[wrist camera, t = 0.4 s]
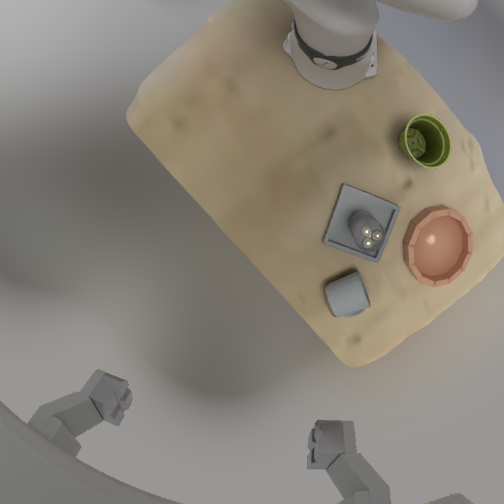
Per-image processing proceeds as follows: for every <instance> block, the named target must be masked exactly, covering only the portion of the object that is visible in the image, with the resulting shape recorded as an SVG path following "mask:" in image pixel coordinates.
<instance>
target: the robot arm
mask: <svg viewBox="0 0 504 504" xmlns="http://www.w3.org/2000/svg"><path fill="white" fill-rule="evenodd" d="M281 1H282V2H284V3H285V4H286V5H287V6H288V7H289V8H290V9H291V10H292V13H293V15H294V18H295V19H294V22H293V23H292V25H291V28H292V30H291V32H290V33H289V34H288V36H287V38H286V40H285V41H284V43H283V50H284V51H285V52H286V53H287V54H288V55H289V56H290V57H291V58H292V60H293V62H294V64H295V66H296V68H297V70H298V72H299V73H300V74H301V75H302V76H303V77H304V78H305V79H306V80H307V81H309V82H310V83H312V84H314V85H316V86H318V87H321V88H325V89H332V90H338V89H344V88H348V87H351V86H353V85H354V84H356V83H357V82H359V81H360V80H362V79H366V78H372V77H374V76H376V74H377V39H376V25H377V22H378V19H379V12H378V7H377V5H376V2H375V1H378V2H380V3H383V4H387V5H389V6H392V7H394V8H397V9H400V10H402V11H406V12H410V13H413V14H417V15H420V16H424V17H427V18H431V19H434V20H437V21H441V22H444V23H454V22H457V21H460V20H462V19H464V18H466V17H467V16H469V15H470V14H471V13H472V12H473V11H474V9H475V8H476V6H477V4H478V2H479V0H281ZM371 65H372V66H373V67H371ZM128 386H129V384H128V382H127V380H124V379H121V378H119V377H116V376H113V375H111V374H108V373H106V372H104V371H101V370H99V369H98V370H96V371H95V372H94V373H93V375H92V376H91V377H90V379H89V380H88V381H87V383H86V384H85V386H84V387H83V388H82V390H81V391H80V392H74V393H72V394H70V395H67V396H65V397H62V398H60V399H57V400H55V401H52V402H50V403H47V404H45V405H42V406H40V407H39V408H38V410H37V411H36V412H35V414H34V415H33V417H32V418H31V419H30V421H29V422H28V423H27V424H26V423H25V422H24V421H22V420H21V419H20V418H19V417H18V416H17V415H15V414H14V413H13V412H12V411H11V410H10V409H9V408H7V407H6V406H5V405H4V404H3V403H2V402H1V401H0V504H181V503H178V502H175V501H172V500H169V499H165V498H162V497H160V496H156V495H154V494H151V493H148V492H146V491H143V490H140V489H138V488H136V487H133V486H131V485H128V484H126V483H124V482H121V481H119V480H117V479H115V478H113V477H111V476H109V475H107V474H104V473H103V472H101V471H98V470H97V469H95V468H93V467H91V466H89V465H87V464H86V463H84V462H82V461H80V460H79V459H77V458H76V456H77V454H78V452H79V450H80V449H81V445H80V443H79V442H78V441H77V440H76V439H75V437H77V436H78V435H80V434H82V433H84V432H85V431H87V430H89V429H91V428H92V427H94V426H95V425H97V424H99V423H101V422H102V421H103V420H105V421H107V422H110V423H112V424H114V425H117V426H119V425H120V423H121V421H122V419H123V418H124V412H123V411H125V410H127V409H129V407H130V405H131V402H132V393H131V391H130V390H129V389H128V388H127V387H128ZM308 448H309V449H310V451H311V452H310V453H309V455H308V456H307V469H326V471H327V473H328V474H329V476H330V478H331V479H332V481H333V482H334V484H335V486H336V487H337V488H338V490H339V492H340V493H341V495H342V496H343V498H344V500H342V501H341V502H339V503H337V504H391V500H390V489H389V486H388V485H387V484H386V483H385V481H384V480H383V479H382V478H381V477H380V476H379V475H378V473H377V472H376V471H375V470H374V469H373V468H372V467H371V465H370V464H369V463H368V462H367V461H366V460H365V459H364V457H363V456H362V455H361V454H360V453H357V449H356V439H355V430H354V423H353V422H352V421H339V420H335V421H334V420H331V421H330V420H317V421H316V423H315V428H313V429H312V430H311V432H310V435H309V438H308ZM425 504H473V503H472V502H471V501H470V500H468V499H467V498H466V497H464V496H463V495H462V494H460V493H455V494H452V495H449V496H446V497H443V498H440V499H437V500H435V501H431V502H428V503H425Z"/></svg>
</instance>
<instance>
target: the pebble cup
mask: <svg viewBox="0 0 504 504" xmlns="http://www.w3.org/2000/svg"><path fill="white" fill-rule="evenodd" d="M348 227H349V230H350V232H351V234H352V236H353V239H354V241H355V243H356V245H357V246H358V248H360V249H361V250H362V251H365V252H374V251H376V250H378V249H379V248H380V247H381V246H382V245H383V243H384V241H385V230H384V228H383V226H382V225H381V224H380V223H379V222H378V221H377V220H376V219H375V218H374V217H373V216H372V215H371V214H370V213H369V212H368V211H365V210H357V211H355V212H354V213H352V214H351V216H350V217H349V220H348Z"/></svg>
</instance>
